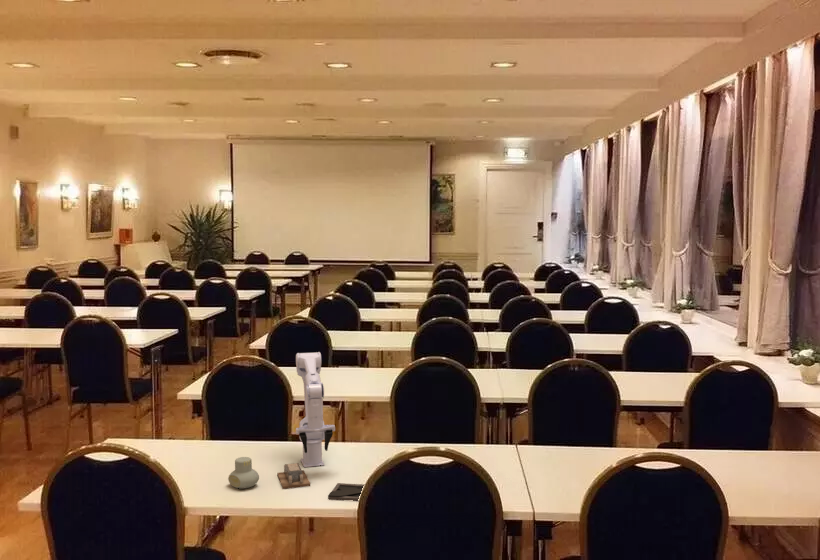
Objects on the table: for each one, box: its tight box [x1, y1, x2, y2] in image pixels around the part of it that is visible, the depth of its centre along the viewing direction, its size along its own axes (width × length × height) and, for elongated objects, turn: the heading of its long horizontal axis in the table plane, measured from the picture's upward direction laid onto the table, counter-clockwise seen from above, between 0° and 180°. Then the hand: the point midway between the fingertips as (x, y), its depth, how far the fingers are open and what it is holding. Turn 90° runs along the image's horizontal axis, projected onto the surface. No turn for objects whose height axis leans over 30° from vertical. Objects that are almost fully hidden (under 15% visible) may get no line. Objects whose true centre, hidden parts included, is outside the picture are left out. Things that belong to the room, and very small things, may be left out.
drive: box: [284, 462, 303, 483], centre depth 293 cm, size 9×5×4 cm, turn 17°
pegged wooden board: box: [277, 464, 311, 490], centre depth 293 cm, size 15×10×4 cm, turn 17°
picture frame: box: [327, 482, 365, 502], centre depth 280 cm, size 13×2×18 cm
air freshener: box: [227, 456, 260, 490], centre depth 288 cm, size 11×8×10 cm
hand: (315, 451), depth 298 cm, fingers open, 7 cm apart
